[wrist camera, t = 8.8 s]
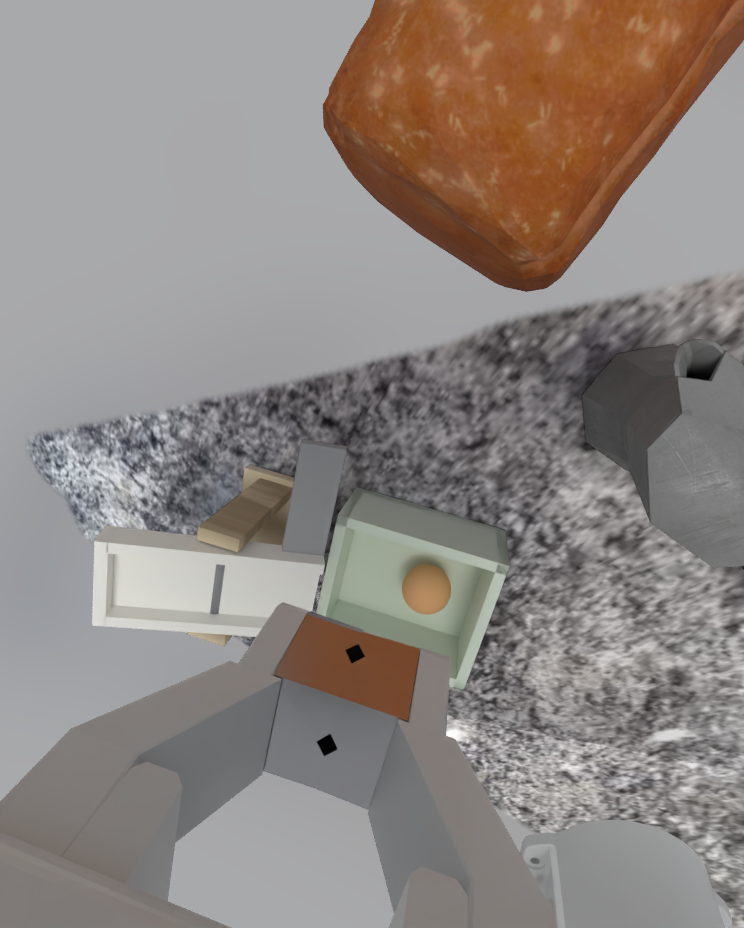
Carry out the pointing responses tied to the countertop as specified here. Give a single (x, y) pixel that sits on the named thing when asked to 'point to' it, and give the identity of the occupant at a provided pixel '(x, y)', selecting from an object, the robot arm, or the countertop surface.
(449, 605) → the bin
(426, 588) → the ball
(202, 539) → the lever base
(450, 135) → the bread
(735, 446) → the coffeepot
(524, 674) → the countertop surface
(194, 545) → the lever
